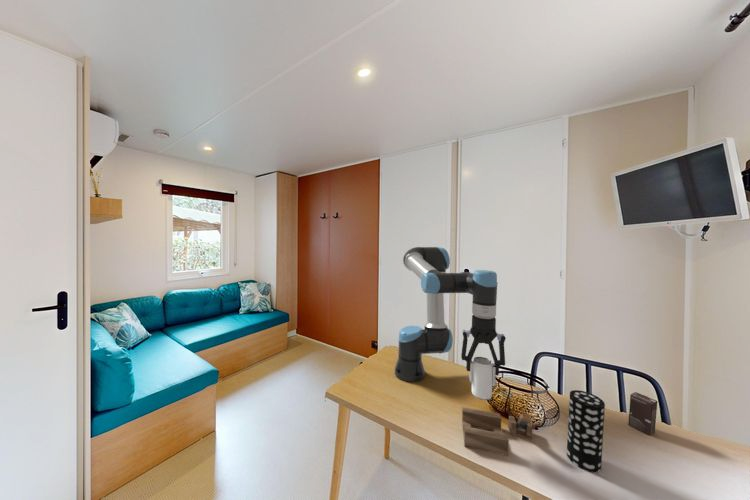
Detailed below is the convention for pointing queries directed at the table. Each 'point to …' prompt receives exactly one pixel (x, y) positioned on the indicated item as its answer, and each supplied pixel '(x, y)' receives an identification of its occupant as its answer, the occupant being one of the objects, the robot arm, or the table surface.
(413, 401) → the table surface
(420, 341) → the robot arm
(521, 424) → the keeper
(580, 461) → the white-spotted black cylinder
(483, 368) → the can
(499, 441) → the hitch block
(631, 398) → the box
